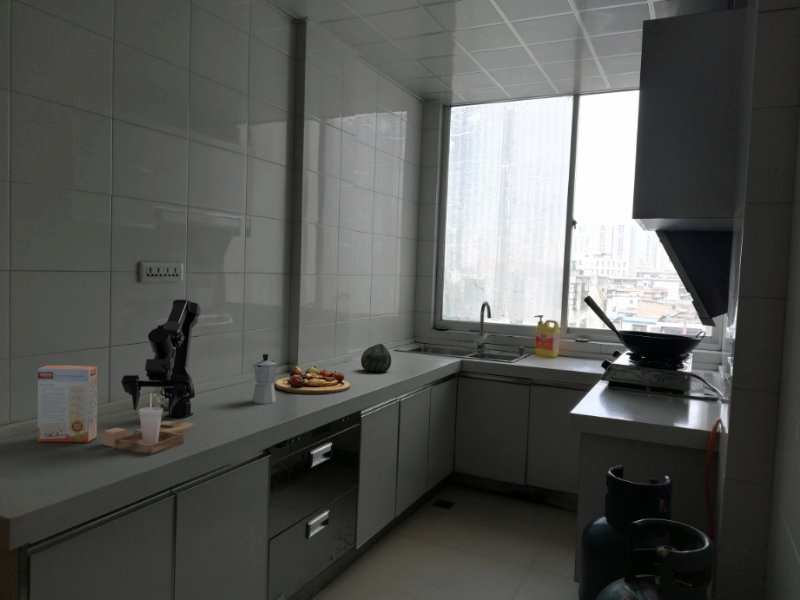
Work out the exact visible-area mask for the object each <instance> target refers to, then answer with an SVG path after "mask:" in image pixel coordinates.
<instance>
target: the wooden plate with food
mask: <svg viewBox="0 0 800 600" xmlns="http://www.w3.org/2000/svg"><path fill="white" fill-rule="evenodd" d="M274 388H277V390H280V391H283V392H287V393H292V394H293V393H295V394H304V395H328V394H327V393H332V394H338V393H337V392H339V393H343V392H346V391H349V390H350V388H351V384H350V383H349V382H348V381H346V380H345V375H344V373H342V372H337V371H336V370H334V372H333V371H328V370H327V369H324V368H323V369H321V370H320V371H319V370H318V369H317V368H316V367H314V366H311V367H309V368H307V370H305V372H304V373H303V370H301V368H300V367H298V366H296V365H295V366H294V367H293V368H291V369H290V372H289V377H284V378H280V379H277V380H276V381H275V382H274ZM342 391H343V392H342Z"/></svg>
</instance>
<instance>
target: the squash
mask: <svg viewBox="0 0 800 600" xmlns="http://www.w3.org/2000/svg"><path fill="white" fill-rule="evenodd" d="M360 358H361V359H360V363H361V367H362V369H363V370H365V371H367V372H378V373H380V372H382V373H385V372H384V371H386V372H387V371H388V370H389V369H390V368H391V366H392V356H391V353H390V351H389V350H388V349H387V348H386V346H385V345H384V344H383V343H377V344H374V345H372V346H370V347H368V348H366V349H364V352H362V355H361V357H360Z"/></svg>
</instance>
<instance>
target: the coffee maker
mask: <svg viewBox="0 0 800 600" xmlns="http://www.w3.org/2000/svg"><path fill="white" fill-rule="evenodd" d="M268 359H269V353H263V354H262V360H259V361H256V362H254V363H253V367H254V368H253V370H254V377H255V382H256V383H255V384H254V385H255V386H254V390H253V396H252V402H253V404H256V405H258V404H259V405H271V404H270V403H272V404H275V403H276V402H277V399H276V391H275V383H273V382H274V381H275V375H276V369H277V362H275V360H268Z"/></svg>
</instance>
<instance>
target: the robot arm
mask: <svg viewBox="0 0 800 600" xmlns="http://www.w3.org/2000/svg"><path fill="white" fill-rule="evenodd" d="M200 316H201V306H200V305H199V303H197V302H194V301H191V300H189V299H178V298H177V299H174V300H173V302H172V307H171V310H170V313H169V315H168V317H167V320H166V322H165V323H163V324H158V325H157V327H156V328H153V329H152V330H151V331H149V333H148V334H147V338H148V341H149V344H150V347H151V352H152V353H154V355H153V358H147V359H146V360H145V367H144V371H145V372H146V378H148V379H140V377H139V375H138V374H124V375H123V376H122V378H121V381H120V383H121V386H122V387H123V390H124V392H125V393H127V394H128V395H130V396H131V399H132V406H133V410H134V411H136V410H137V408H138V405H139V402H140V397H141V389H142V388H146V387H147V388H163V393H164V395H163V396H164V399H166V400H167V399H168V406H167V409H168V413H167V414H164V416H165V417H166V418H167V417H168V418H175V419H182V418H187V417H190V416H192V415H194V412H192V411H191V410H192V407H191V406H192V402H191V399H195V396H196V395H195V393H196V391H195V387H194V386H195V385H194V383H193V379H192V376H191V374H190V372H189V370H188V368H189V367H188V366H189V357H190V346H191V339H192V331H193V328H194V327H195V325H197V323H198V320H199V317H200Z"/></svg>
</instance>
